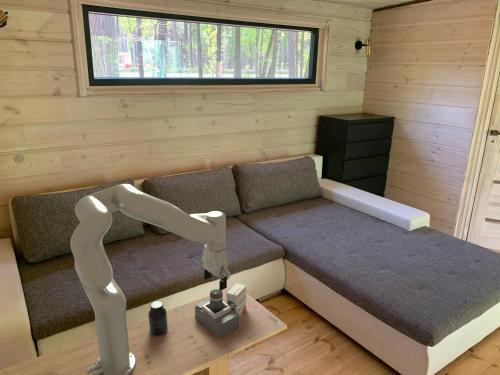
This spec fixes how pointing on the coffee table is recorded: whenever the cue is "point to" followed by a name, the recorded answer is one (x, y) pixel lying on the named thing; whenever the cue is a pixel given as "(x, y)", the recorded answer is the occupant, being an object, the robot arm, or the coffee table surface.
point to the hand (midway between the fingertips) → (215, 283)
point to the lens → (216, 300)
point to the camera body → (217, 318)
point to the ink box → (237, 298)
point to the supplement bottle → (157, 318)
